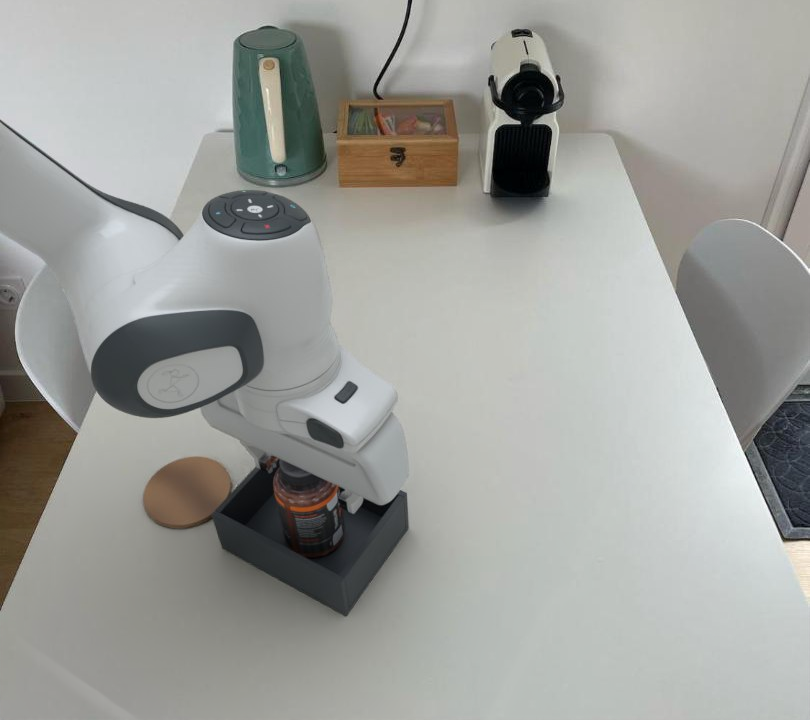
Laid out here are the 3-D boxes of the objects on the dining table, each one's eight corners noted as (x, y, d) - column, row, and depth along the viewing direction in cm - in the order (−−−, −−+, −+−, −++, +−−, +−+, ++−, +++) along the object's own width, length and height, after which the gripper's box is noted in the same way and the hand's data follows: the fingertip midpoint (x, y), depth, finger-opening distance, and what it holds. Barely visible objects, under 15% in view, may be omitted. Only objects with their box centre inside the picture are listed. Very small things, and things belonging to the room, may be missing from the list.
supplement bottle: (357, 540, 79) (347, 465, 71) (303, 571, 77) (287, 497, 69) (326, 500, 83) (314, 424, 75) (274, 528, 80) (256, 453, 73)
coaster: (191, 542, 80) (190, 538, 80) (126, 506, 84) (124, 502, 83) (249, 480, 86) (248, 476, 85) (185, 448, 89) (184, 444, 89)
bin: (346, 616, 74) (340, 583, 70) (221, 549, 79) (210, 514, 76) (409, 527, 81) (407, 492, 77) (290, 471, 86) (283, 436, 83)
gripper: (165, 359, 67) (200, 466, 77) (371, 449, 59) (383, 556, 69) (215, 316, 71) (243, 423, 81) (415, 395, 63) (420, 504, 72)
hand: (309, 485), depth 75 cm, fingers open, 8 cm apart
